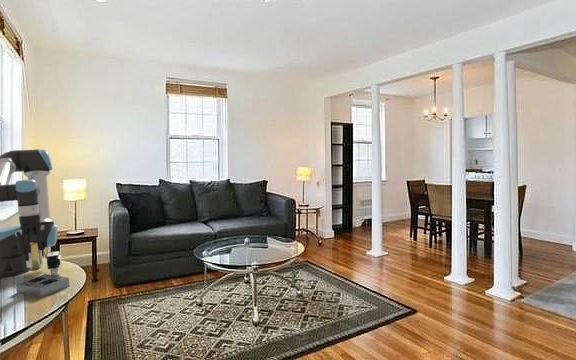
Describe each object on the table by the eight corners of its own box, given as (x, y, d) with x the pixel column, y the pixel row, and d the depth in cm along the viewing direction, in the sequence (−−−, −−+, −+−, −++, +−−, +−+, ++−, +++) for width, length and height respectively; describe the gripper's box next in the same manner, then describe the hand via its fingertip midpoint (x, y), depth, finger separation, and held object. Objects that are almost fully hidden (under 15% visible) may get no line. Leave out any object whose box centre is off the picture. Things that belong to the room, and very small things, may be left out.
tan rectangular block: (28, 270, 161) (25, 244, 160) (37, 267, 165) (34, 242, 164) (33, 271, 160) (30, 244, 158) (42, 268, 163) (40, 242, 162)
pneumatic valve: (48, 279, 174) (45, 255, 173) (50, 272, 184) (48, 249, 183) (61, 277, 177) (59, 253, 175) (63, 270, 187) (61, 247, 186)
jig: (16, 293, 159) (15, 284, 158) (46, 282, 171) (45, 274, 170) (40, 297, 153) (39, 288, 152) (69, 286, 165) (68, 277, 164)
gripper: (14, 218, 151) (20, 272, 153) (53, 211, 166) (59, 260, 168) (2, 218, 153) (9, 271, 156) (43, 210, 169) (48, 259, 171)
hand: (35, 265), depth 162 cm, fingers closed on tan rectangular block, 4 cm apart
